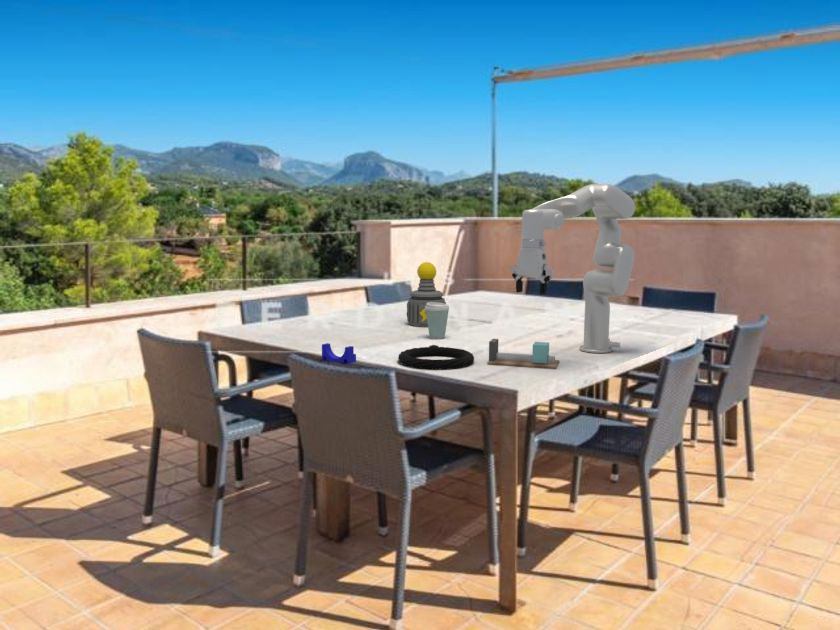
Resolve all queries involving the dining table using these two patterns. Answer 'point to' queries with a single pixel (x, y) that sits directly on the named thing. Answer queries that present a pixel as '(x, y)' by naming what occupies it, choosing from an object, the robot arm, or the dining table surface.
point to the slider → (540, 352)
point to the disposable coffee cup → (437, 319)
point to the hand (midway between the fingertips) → (530, 293)
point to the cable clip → (330, 356)
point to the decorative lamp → (423, 296)
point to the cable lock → (460, 361)
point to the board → (524, 364)
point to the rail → (521, 357)
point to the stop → (493, 349)
